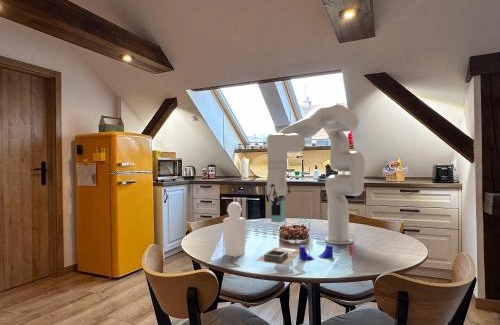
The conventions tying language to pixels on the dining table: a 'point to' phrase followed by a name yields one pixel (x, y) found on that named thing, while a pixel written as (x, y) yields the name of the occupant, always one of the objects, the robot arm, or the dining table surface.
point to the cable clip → (326, 254)
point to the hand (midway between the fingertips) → (278, 213)
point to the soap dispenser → (234, 231)
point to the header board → (279, 255)
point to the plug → (282, 211)
